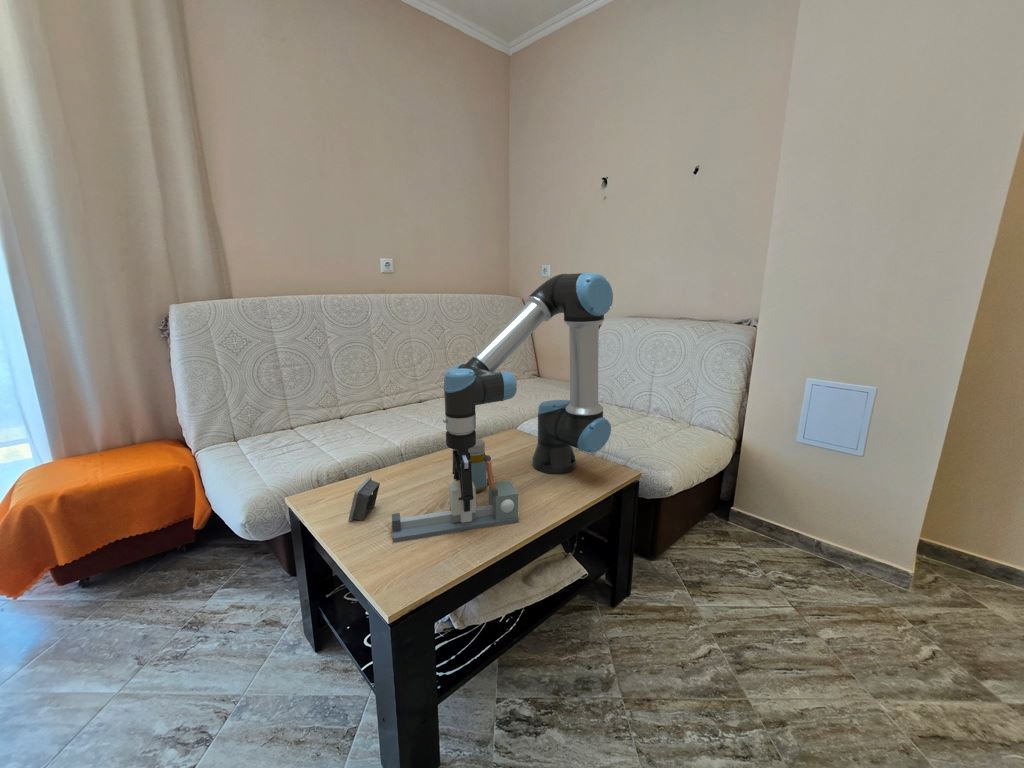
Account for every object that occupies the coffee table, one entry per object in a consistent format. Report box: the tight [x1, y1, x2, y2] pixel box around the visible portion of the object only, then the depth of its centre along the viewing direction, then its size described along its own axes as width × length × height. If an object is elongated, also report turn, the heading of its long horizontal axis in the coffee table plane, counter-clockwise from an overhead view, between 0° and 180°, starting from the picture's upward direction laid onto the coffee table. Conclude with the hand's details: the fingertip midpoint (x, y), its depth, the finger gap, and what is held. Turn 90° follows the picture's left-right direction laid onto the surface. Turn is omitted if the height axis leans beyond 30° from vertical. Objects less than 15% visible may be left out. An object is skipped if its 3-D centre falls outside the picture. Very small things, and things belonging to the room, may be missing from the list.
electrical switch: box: [348, 476, 381, 522], centre depth 114 cm, size 9×5×9 cm, turn 176°
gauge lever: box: [484, 454, 495, 491], centre depth 110 cm, size 2×4×9 cm, turn 17°
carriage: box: [448, 480, 477, 523], centre depth 109 cm, size 6×5×9 cm
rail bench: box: [391, 478, 519, 544], centre depth 109 cm, size 32×9×10 cm, turn 107°
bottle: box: [468, 438, 487, 493], centre depth 128 cm, size 7×7×15 cm
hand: (462, 511), depth 110 cm, fingers open, 9 cm apart
